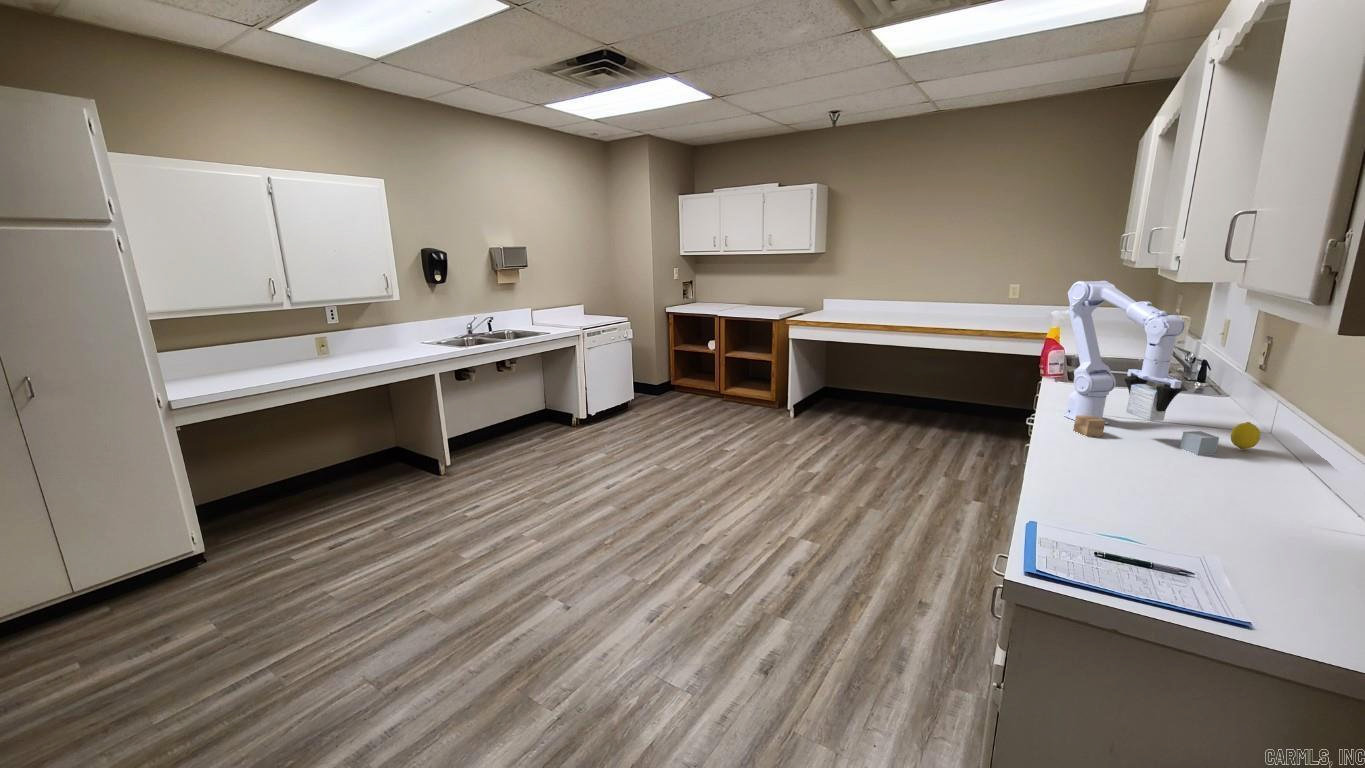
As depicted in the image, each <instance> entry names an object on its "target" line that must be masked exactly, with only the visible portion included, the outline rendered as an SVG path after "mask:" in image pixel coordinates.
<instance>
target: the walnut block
mask: <svg viewBox="0 0 1365 768" xmlns="http://www.w3.org/2000/svg"><path fill="white" fill-rule="evenodd" d="M1105 421H1106V420H1105V419H1103V418H1102V419H1101V418H1098V417H1096V416H1093V415H1077V416H1076V418H1075V420H1074V424H1073V430H1072V431H1073V432H1074V431H1075V432H1074V433H1076V432H1078V433H1077V434H1079V433H1080V434H1079V435H1081V434H1082V435H1081V436H1083V435H1085V436H1097V437H1103V436H1104V435H1103V434H1104V430H1105V429H1104V428H1105V425H1106V424H1105ZM1085 436H1084V437H1085Z"/></svg>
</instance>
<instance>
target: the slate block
mask: <svg viewBox="0 0 1365 768" xmlns="http://www.w3.org/2000/svg"><path fill="white" fill-rule="evenodd" d="M1219 440H1220V437H1219V436H1216V435H1213V434H1210V433H1208V432H1204V431H1202V430H1195V431H1193V430H1192V431H1183V432H1182V436H1181V441H1180V443H1179V444H1180V445H1179V449H1180V448H1181V449H1180V450H1182V449H1184V450H1186V451H1185V452H1187V451H1189V452H1188V453H1190V452H1191V453H1190V454H1192V453H1194V454H1193V455H1195V454H1196V455H1195V456H1215V455H1216V451H1217V448H1218V444H1219ZM1184 450H1183V451H1184Z"/></svg>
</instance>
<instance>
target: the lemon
mask: <svg viewBox="0 0 1365 768" xmlns="http://www.w3.org/2000/svg"><path fill="white" fill-rule="evenodd" d="M1260 440H1261V431H1260V429H1259V428H1258V427H1257V426H1256V425H1254V424H1253V423H1251V422H1250V421H1247V422H1243V423H1239V424H1237V425H1235V426H1234V427H1233V429H1232V430H1231V432H1230V441H1231V443H1232V444H1233V445H1234V446H1235V447H1237V448H1238V449H1239V450H1240V451H1244V450H1247V449H1252V448H1254V447H1255V446H1257V445H1258V444H1259V442H1260Z"/></svg>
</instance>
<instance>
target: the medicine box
mask: <svg viewBox="0 0 1365 768" xmlns="http://www.w3.org/2000/svg"><path fill="white" fill-rule="evenodd" d="M1157 399H1158V395H1157V389H1156V386H1154V385H1150V384H1148V383H1146V384H1134V385H1132V386H1131V391H1130V395H1129V396H1128V401H1127V407H1126V411H1125V412H1126V413H1127V414H1130V415H1133V416H1135V417H1138V418H1141V419H1144V420H1147V421H1148V422H1150V421H1152V422H1157V421H1158V422H1159V421H1164V420H1165V416H1166V412H1167V410H1166V411H1156V406H1157Z"/></svg>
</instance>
